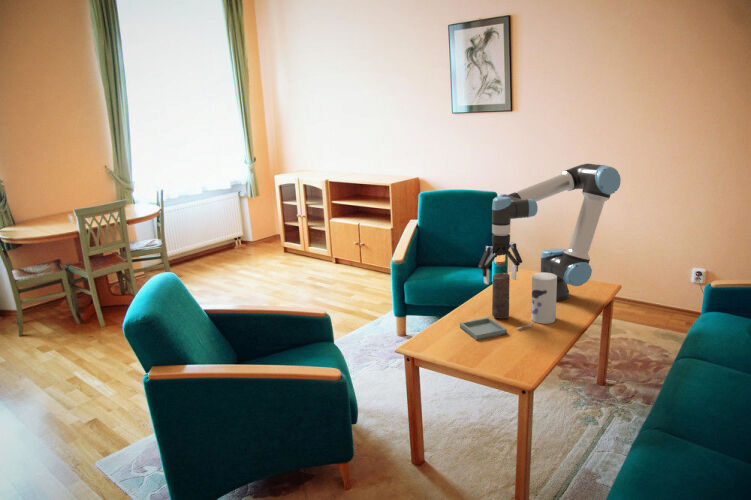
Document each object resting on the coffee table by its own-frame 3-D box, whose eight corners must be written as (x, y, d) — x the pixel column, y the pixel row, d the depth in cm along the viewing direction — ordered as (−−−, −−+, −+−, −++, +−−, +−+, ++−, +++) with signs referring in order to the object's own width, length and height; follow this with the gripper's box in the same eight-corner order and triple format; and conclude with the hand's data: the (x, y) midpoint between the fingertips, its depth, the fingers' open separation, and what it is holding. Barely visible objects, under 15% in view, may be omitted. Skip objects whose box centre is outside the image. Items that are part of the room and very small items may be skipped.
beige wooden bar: (531, 326, 222) (531, 323, 222) (533, 327, 221) (533, 324, 221) (516, 330, 219) (516, 327, 219) (518, 331, 218) (518, 328, 218)
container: (527, 320, 227) (528, 276, 222) (537, 313, 234) (538, 270, 229) (549, 326, 220) (550, 281, 215) (559, 318, 227) (561, 274, 222)
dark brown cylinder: (509, 321, 228) (510, 277, 222) (492, 320, 229) (492, 277, 224) (508, 314, 235) (509, 271, 230) (491, 313, 236) (492, 271, 231)
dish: (488, 321, 228) (488, 317, 228) (506, 334, 215) (506, 329, 215) (459, 327, 224) (459, 322, 223) (476, 340, 211) (476, 335, 211)
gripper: (521, 228, 229) (520, 274, 235) (470, 235, 222) (470, 282, 227) (531, 232, 222) (530, 279, 228) (479, 239, 215) (478, 288, 220)
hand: (500, 281), depth 227 cm, fingers open, 13 cm apart
